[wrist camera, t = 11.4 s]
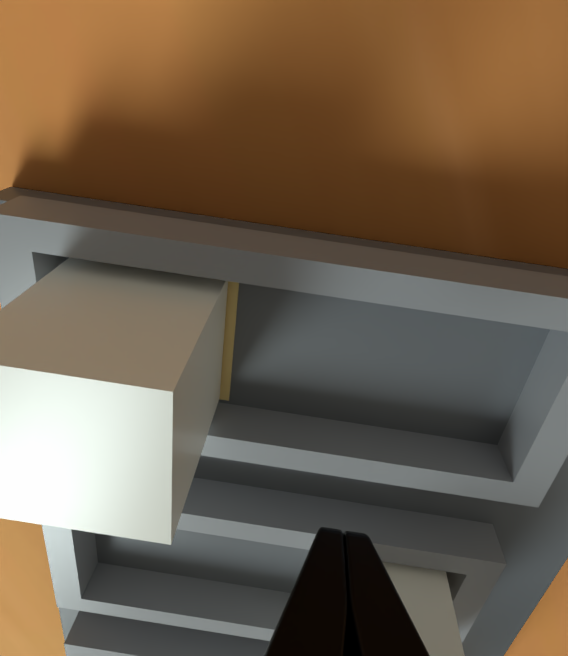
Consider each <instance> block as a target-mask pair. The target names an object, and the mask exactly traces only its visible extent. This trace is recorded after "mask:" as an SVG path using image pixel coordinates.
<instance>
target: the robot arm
mask: <svg viewBox="0 0 568 656" xmlns="http://www.w3.org/2000/svg"><path fill="white" fill-rule="evenodd" d="M264 656H430V655H429V653H428V651H427V649H426V647H425V645H424V643H423V641H422V639H421V637H420V635H419V633H418V632H417V630H416V628H415V626H414V624H413V622H412V620H411V618H410V616H409V614H408V612H407V610H406V608H405V606H404V604H403V602H402V600H401V598H400V596H399V594H398V592H397V590H396V588H395V586H394V584H393V582H392V580H391V578H390V576H389V574H388V572H387V570H386V569H385V567H384V565H383V563H382V561H381V559H380V557H379V555H378V553H377V551H376V549H375V547H374V545H373V543H372V541H371V539H370V537H369V536H368V535H367V534H365V533H359V532H353V531H345V532H344V533H343V532H342V531H341V530H339V529H334V528H327V527H320V528H319V529H318V531H317V533H316V535H315V538H314V540H313V542H312V545H311V547H310V549H309V552H308V554H307V556H306V559H305V561H304V563H303V565H302V568H301V570H300V572H299V575H298V577H297V579H296V582H295V584H294V586H293V589H292V591H291V593H290V596H289V598H288V600H287V602H286V605H285V607H284V609H283V612H282V614H281V616H280V619H279V621H278V623H277V626H276V628H275V630H274V632H273V635H272V637H271V639H270V642H269V644H268V646H267V649H266V651H265V653H264Z"/></svg>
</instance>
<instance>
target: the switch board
mask: <svg viewBox="0 0 568 656" xmlns="http://www.w3.org/2000/svg"><path fill="white" fill-rule="evenodd" d="M69 257H70V258H77V259H84V260H90V261H97V262H104V263H110V264H117V265H124V266H130V267H137V268H144V269H150V270H157V271H164V272H170V273H177V274H184V275H190V276H197V277H204V278H211V279H217V280H224V281H228V288H227V302H226V315H225V329H224V343H223V357H222V371H221V384H220V398H219V401H218V404H217V407H216V410H215V413H214V416H213V419H212V422H211V426H210V429H209V432H208V435H207V438H206V441H205V444H204V447H203V450H202V453H201V456H200V459H199V462H198V465H197V468H196V471H195V474H194V477H193V480H192V483H191V486H190V489H189V492H188V495H187V498H186V501H185V504H184V507H183V510H182V513H181V516H180V519H179V522H178V525H177V529H176V532H175V535H174V538H173V541H172V544H171V545H168V544H162V543H156V542H149V541H143V540H137V539H130V538H124V537H117V536H111V535H105V534H98V533H92V532H86V531H79V530H73V529H67V528H60V527H54V526H48V525H42V528H43V534H44V539H45V544H46V550H47V555H48V561H49V566H50V571H51V577H52V582H53V587H54V593H55V598H56V603H57V607H59V612H60V617H61V623H62V628H63V634H64V639H65V643H64V646H65V652H66V656H264V653H265V651H266V649H267V646H268V644H269V642H270V639H271V637H272V635H273V632H274V630H275V628H276V626H277V623H278V621H279V619H280V616H281V614H282V612H283V609H284V607H285V605H286V602H287V600H288V598H289V596H290V593H291V591H292V589H293V586H294V584H295V582H296V579H297V577H298V575H299V572H300V570H301V568H302V565H303V563H304V561H305V559H306V556H307V554H308V552H309V549H310V547H311V545H312V542H313V540H314V538H315V535H316V533H317V531H318V529H319V528H320V527H327V528H334V529H339V530H341V531H342V532H343V533H344V532H345V531H353V532H359V533H365V534H367V535H368V536H369V537H370V539H371V541H372V543H373V545H374V547H375V549H376V551H377V553H378V555H379V557H380V559H381V561H383V562H389V563H395V564H402V565H408V566H414V567H421V568H427V569H433V570H440V571H446V574H447V579H448V583H449V588H450V592H451V597H452V601H453V606H454V610H455V615H456V619H457V624H458V628H459V633H460V637H461V642H462V646H463V651H464V655H465V656H504V654H505V653H506V651H507V650H508V648H509V647H510V645H511V644H512V642H513V640H514V639H515V637H516V636H517V634H518V633H519V631H520V630H521V628H522V627H523V625H524V624H525V622H526V621H527V619H528V618H529V616H530V614H531V613H532V611H533V610H534V608H535V607H536V605H537V604H538V602H539V601H540V599H541V598H542V596H543V595H544V593H545V592H546V590H547V589H548V587H549V585H550V584H551V582H552V581H553V579H554V578H555V576H556V575H557V573H558V572H559V570H560V569H561V567H562V566H563V564H564V563H565V561H566V559H567V558H568V269H564V268H557V267H550V266H543V265H536V264H530V263H523V262H516V261H509V260H503V259H496V258H489V257H482V256H476V255H469V254H462V253H455V252H449V251H442V250H435V249H428V248H421V247H415V246H408V245H401V244H394V243H388V242H381V241H374V240H367V239H361V238H354V237H347V236H340V235H334V234H327V233H320V232H313V231H306V230H300V229H293V228H286V227H279V226H273V225H266V224H259V223H252V222H246V221H239V220H232V219H225V218H218V217H212V216H205V215H198V214H191V213H185V212H178V211H171V210H164V209H158V208H151V207H144V206H137V205H131V204H124V203H117V202H110V201H103V200H97V199H90V198H83V197H76V196H70V195H63V194H56V193H49V192H43V191H36V190H29V189H22V188H16V187H9V188H6V189H4V190H1V191H0V303H1V308H4V307H5V306H6V305H8V304H9V303H10V302H11V301H13V300H14V299H15V298H17V297H18V296H19V295H21V294H22V293H23V292H25V291H26V290H27V289H29V288H30V287H31V286H33V285H34V284H35V283H37V282H38V281H39V280H40V279H42V278H43V277H44V276H46V275H47V274H48V273H50V272H51V271H52V270H54V269H55V268H56V267H58V266H59V265H60V264H62V263H63V262H64V261H66V260H67V259H68V258H69Z"/></svg>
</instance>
